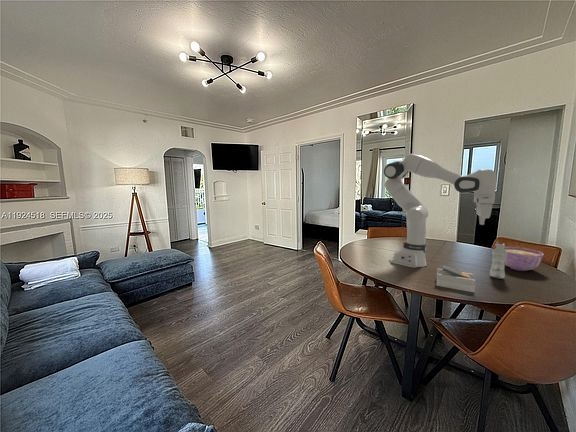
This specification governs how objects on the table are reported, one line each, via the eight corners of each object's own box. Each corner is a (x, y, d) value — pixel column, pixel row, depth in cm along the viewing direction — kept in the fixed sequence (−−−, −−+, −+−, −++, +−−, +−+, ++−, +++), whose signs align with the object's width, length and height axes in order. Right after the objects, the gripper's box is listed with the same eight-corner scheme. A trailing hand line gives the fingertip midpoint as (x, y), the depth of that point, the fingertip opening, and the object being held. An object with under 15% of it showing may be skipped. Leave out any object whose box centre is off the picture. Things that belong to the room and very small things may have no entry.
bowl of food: (551, 275, 137) (554, 256, 135) (511, 273, 141) (513, 254, 139) (524, 264, 156) (526, 247, 155) (489, 262, 160) (491, 246, 159)
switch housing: (436, 285, 126) (437, 274, 125) (436, 277, 136) (437, 267, 135) (474, 292, 117) (475, 281, 116) (471, 283, 127) (472, 273, 126)
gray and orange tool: (442, 270, 126) (443, 267, 126) (442, 267, 131) (443, 264, 131) (468, 281, 120) (470, 278, 120) (467, 277, 125) (469, 274, 125)
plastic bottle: (496, 275, 138) (500, 242, 136) (507, 279, 132) (512, 245, 129) (486, 275, 138) (489, 242, 135) (497, 280, 131) (501, 245, 129)
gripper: (474, 198, 139) (472, 221, 141) (479, 200, 122) (476, 226, 124) (488, 198, 136) (485, 222, 138) (495, 200, 119) (492, 227, 120)
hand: (481, 224), depth 131 cm, fingers closed
